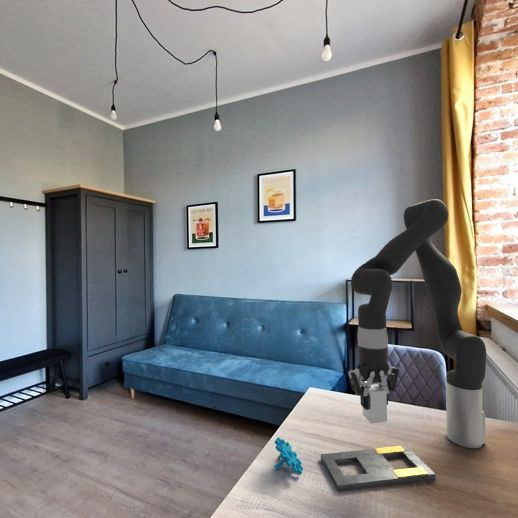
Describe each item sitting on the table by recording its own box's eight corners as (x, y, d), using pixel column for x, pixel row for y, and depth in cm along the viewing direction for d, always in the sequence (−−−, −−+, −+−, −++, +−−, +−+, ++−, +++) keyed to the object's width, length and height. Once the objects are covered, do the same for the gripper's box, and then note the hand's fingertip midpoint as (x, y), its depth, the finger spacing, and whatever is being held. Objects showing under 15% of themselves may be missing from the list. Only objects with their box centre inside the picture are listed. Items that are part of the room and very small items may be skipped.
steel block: (377, 412, 84) (377, 383, 84) (387, 421, 80) (386, 390, 80) (362, 414, 83) (361, 385, 83) (371, 423, 79) (370, 392, 79)
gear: (305, 478, 76) (277, 446, 78) (288, 495, 76) (260, 462, 78) (304, 456, 87) (279, 428, 89) (289, 471, 87) (264, 443, 89)
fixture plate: (405, 450, 89) (405, 444, 89) (435, 479, 78) (435, 472, 78) (320, 459, 86) (320, 453, 86) (338, 491, 74) (338, 484, 74)
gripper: (389, 338, 86) (390, 398, 86) (341, 341, 84) (343, 403, 84) (405, 345, 79) (407, 411, 79) (353, 349, 77) (355, 417, 77)
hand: (374, 407), depth 82 cm, fingers closed on steel block, 4 cm apart
